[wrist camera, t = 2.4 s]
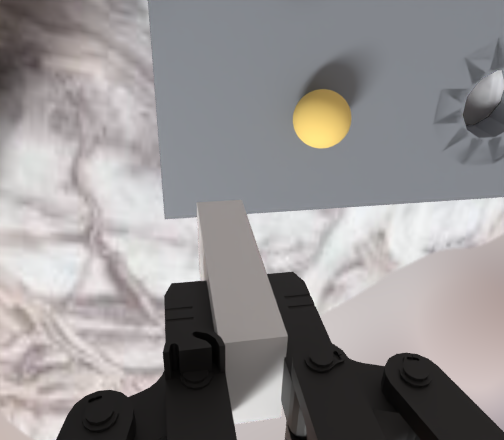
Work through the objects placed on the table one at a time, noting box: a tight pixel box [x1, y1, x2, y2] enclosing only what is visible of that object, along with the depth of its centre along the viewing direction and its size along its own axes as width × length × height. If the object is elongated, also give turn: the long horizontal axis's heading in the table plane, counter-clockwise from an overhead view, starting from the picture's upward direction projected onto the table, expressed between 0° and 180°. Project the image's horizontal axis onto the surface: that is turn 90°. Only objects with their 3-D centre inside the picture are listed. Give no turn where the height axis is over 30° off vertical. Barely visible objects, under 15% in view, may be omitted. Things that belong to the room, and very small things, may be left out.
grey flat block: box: [148, 0, 504, 219], centre depth 31 cm, size 28×14×2 cm, turn 89°
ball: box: [293, 89, 351, 148], centre depth 28 cm, size 3×3×3 cm
